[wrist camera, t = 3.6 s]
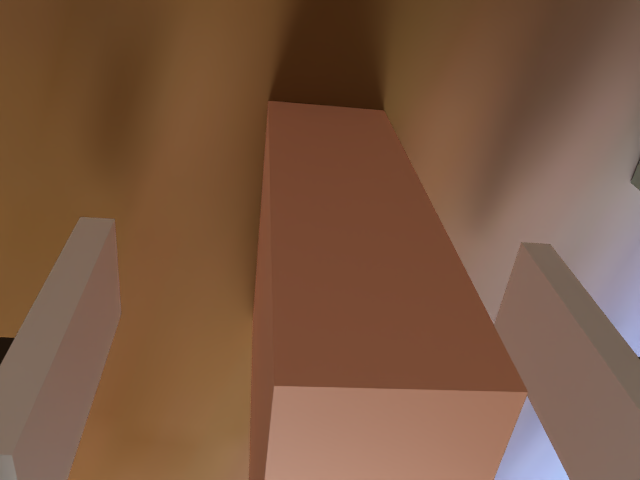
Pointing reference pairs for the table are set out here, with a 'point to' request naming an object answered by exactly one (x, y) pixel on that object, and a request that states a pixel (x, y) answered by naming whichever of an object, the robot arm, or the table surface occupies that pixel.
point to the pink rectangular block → (366, 316)
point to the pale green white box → (636, 177)
